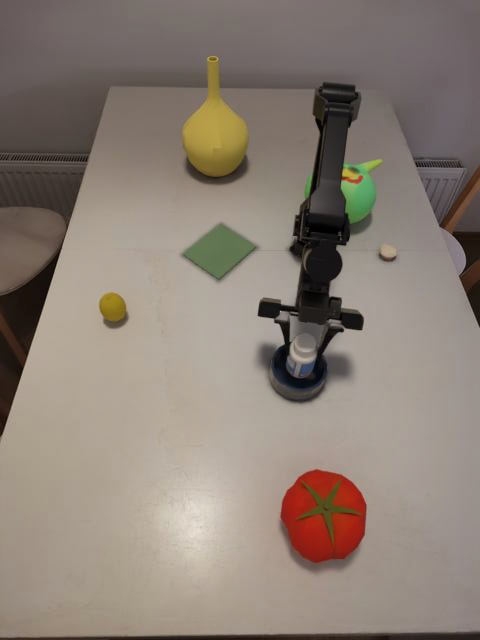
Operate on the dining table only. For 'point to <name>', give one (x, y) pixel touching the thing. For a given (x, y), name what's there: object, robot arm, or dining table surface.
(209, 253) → the towel
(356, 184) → the toy bird
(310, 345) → the pill bottle
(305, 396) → the shallow round bowl
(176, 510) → the dining table surface
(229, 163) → the vase
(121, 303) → the lemon
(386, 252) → the macaroon
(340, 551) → the tomato
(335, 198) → the robot arm
